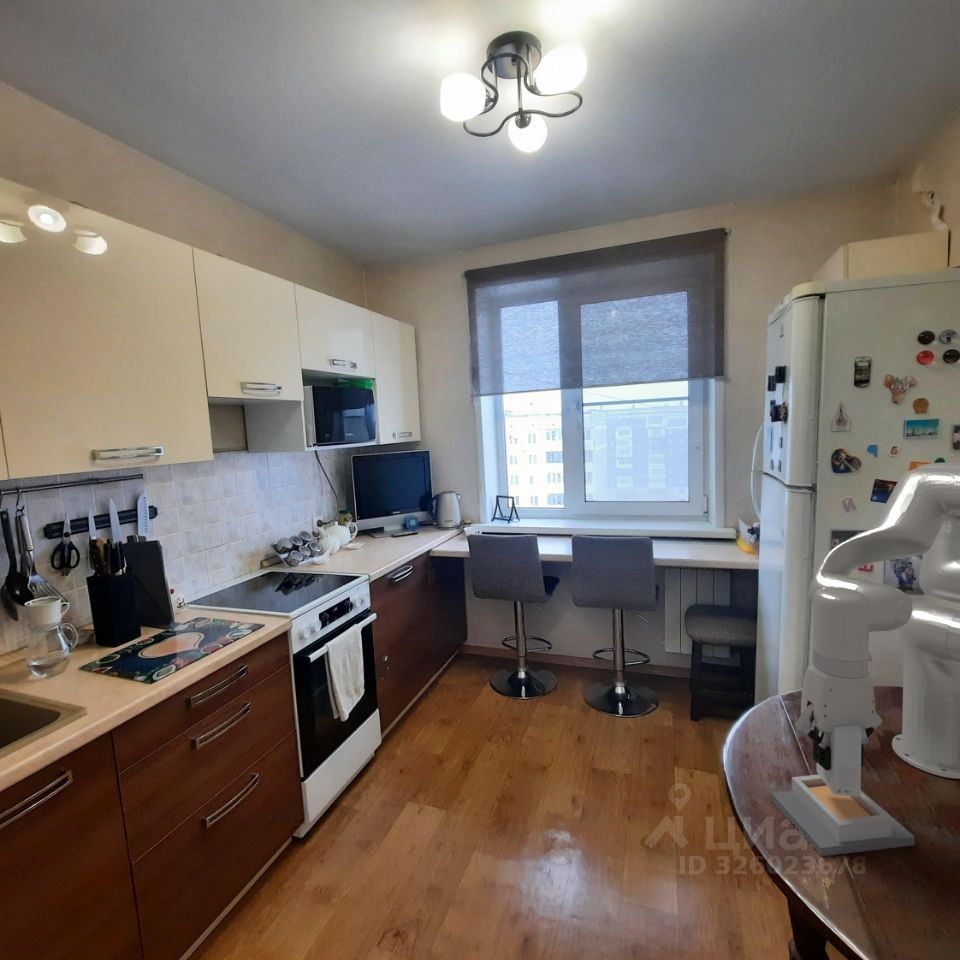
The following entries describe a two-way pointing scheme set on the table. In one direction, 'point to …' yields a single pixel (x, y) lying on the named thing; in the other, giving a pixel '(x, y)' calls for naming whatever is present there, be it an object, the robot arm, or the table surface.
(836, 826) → the panel
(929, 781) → the table surface
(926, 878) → the table surface
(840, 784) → the skincare box
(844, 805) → the button
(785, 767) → the table surface
